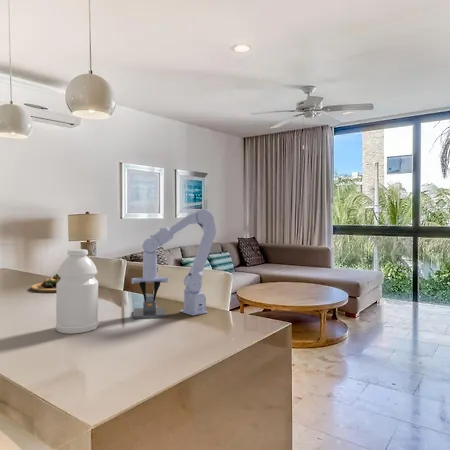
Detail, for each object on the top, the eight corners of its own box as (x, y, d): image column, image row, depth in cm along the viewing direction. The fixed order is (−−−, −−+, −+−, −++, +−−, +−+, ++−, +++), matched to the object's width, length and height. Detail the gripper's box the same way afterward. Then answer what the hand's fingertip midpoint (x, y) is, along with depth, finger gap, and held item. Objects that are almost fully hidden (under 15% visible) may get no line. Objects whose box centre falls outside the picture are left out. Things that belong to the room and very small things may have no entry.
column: (153, 310, 153) (153, 293, 153) (153, 311, 150) (153, 295, 150) (145, 310, 153) (146, 293, 153) (145, 312, 150) (145, 295, 150)
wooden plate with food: (36, 285, 222) (36, 271, 222) (92, 283, 232) (92, 270, 232) (24, 295, 192) (24, 279, 192) (89, 292, 201) (89, 277, 201)
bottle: (57, 325, 135) (58, 248, 135) (97, 321, 139) (98, 248, 139) (54, 336, 121) (55, 251, 121) (98, 332, 126) (99, 250, 126)
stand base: (165, 310, 159) (165, 298, 159) (166, 317, 147) (166, 304, 146) (134, 311, 157) (134, 299, 157) (132, 319, 144) (132, 305, 144)
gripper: (131, 268, 146) (131, 302, 146) (168, 268, 149) (167, 301, 149) (132, 266, 153) (132, 299, 153) (167, 266, 156) (167, 298, 156)
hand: (149, 300), depth 152 cm, fingers closed on column, 3 cm apart
